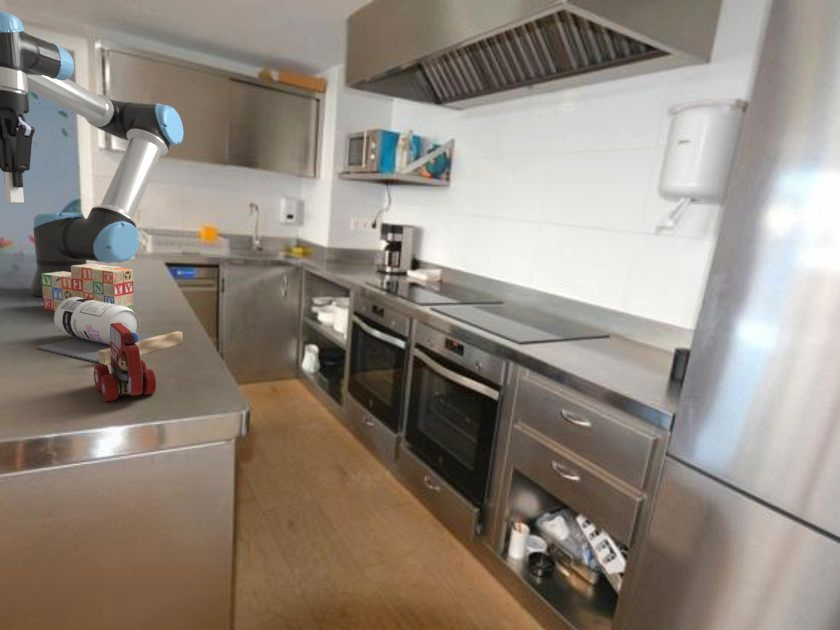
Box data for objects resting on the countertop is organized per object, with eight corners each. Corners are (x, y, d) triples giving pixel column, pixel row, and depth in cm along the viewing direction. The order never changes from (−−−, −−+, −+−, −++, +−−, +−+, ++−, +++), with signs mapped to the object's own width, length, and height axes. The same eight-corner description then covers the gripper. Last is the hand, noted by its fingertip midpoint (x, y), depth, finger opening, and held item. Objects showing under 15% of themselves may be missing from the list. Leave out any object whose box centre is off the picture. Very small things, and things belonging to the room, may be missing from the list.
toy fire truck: (109, 410, 71) (106, 341, 69) (91, 383, 80) (88, 322, 77) (161, 400, 76) (159, 336, 74) (139, 376, 84) (137, 318, 82)
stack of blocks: (42, 310, 122) (39, 261, 120) (65, 305, 128) (62, 259, 126) (115, 320, 118) (112, 270, 115) (135, 316, 124) (133, 268, 121)
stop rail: (177, 341, 105) (176, 331, 105) (182, 343, 105) (182, 332, 104) (99, 363, 89) (98, 350, 88) (105, 364, 88) (104, 352, 88)
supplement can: (97, 304, 107) (148, 314, 102) (80, 339, 105) (131, 352, 100) (63, 290, 100) (116, 300, 95) (44, 327, 97) (98, 340, 92)
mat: (121, 330, 110) (121, 328, 110) (176, 341, 105) (176, 339, 105) (37, 348, 94) (37, 346, 94) (98, 363, 89) (98, 361, 89)
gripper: (-35, 86, 104) (-23, 199, 109) (6, 86, 100) (16, 203, 105) (5, 95, 111) (14, 200, 116) (45, 96, 107) (52, 205, 112)
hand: (15, 202), depth 110 cm, fingers closed
